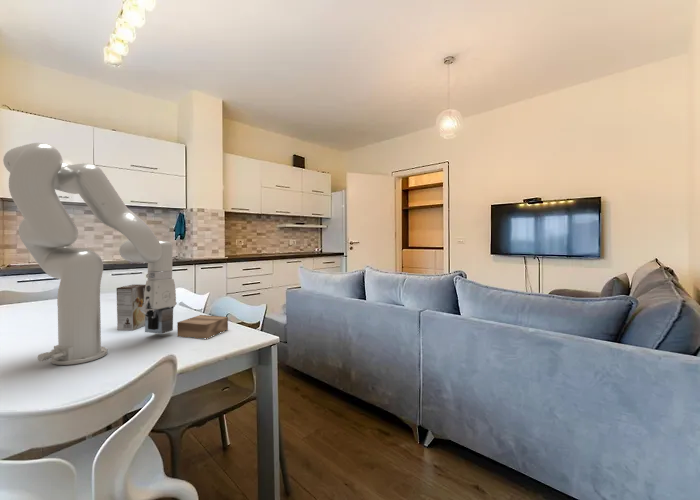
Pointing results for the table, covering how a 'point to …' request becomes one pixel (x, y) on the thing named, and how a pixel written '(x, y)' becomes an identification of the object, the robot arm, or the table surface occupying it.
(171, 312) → the block
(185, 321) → the walnut stand
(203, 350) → the table surface
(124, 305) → the coffee box
